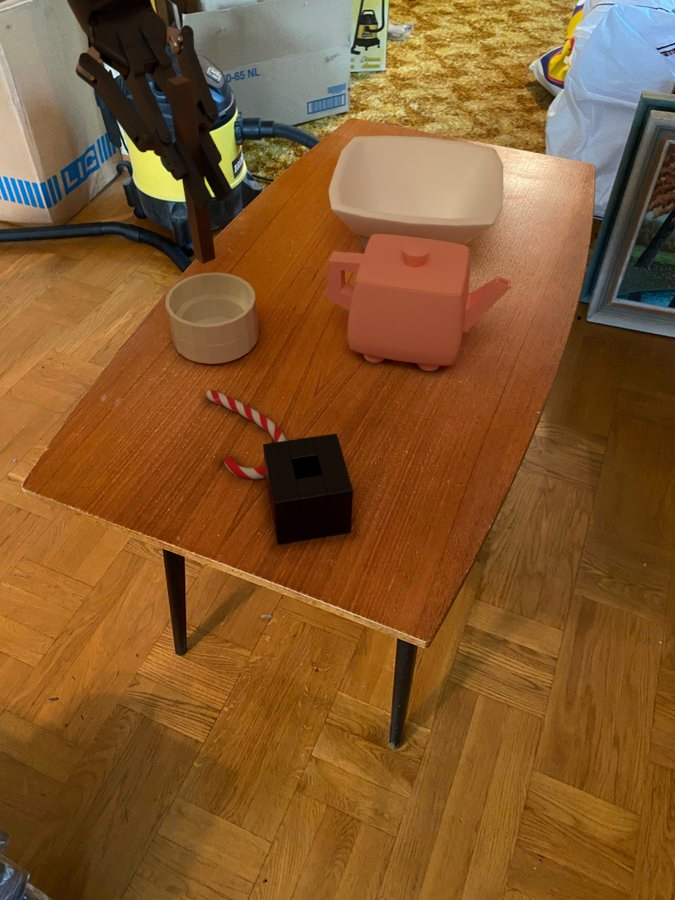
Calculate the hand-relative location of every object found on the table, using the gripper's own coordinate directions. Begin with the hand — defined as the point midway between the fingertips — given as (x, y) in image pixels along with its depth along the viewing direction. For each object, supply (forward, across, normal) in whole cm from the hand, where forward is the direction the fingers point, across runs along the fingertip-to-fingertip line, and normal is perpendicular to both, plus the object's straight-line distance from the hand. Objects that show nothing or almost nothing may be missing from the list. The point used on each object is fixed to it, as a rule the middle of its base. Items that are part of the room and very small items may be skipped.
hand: (215, 200), depth 75 cm
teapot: (+25, -18, -6) cm, 31 cm away
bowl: (+12, -36, -18) cm, 42 cm away
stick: (+4, 0, -9) cm, 10 cm away
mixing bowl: (+12, 0, -18) cm, 22 cm away
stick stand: (+33, +9, +3) cm, 34 cm away
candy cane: (+23, +8, -7) cm, 26 cm away
